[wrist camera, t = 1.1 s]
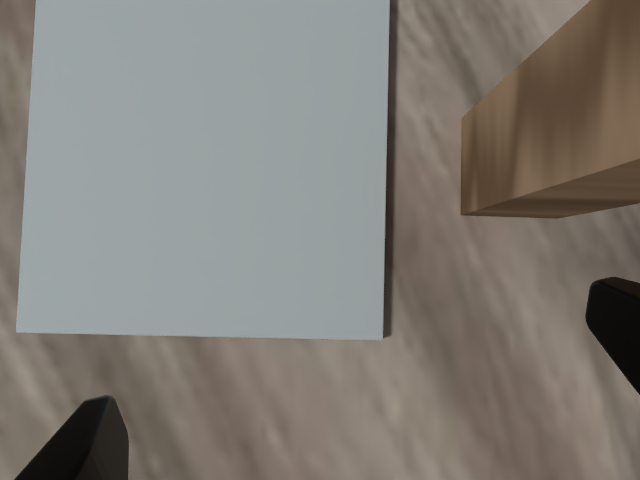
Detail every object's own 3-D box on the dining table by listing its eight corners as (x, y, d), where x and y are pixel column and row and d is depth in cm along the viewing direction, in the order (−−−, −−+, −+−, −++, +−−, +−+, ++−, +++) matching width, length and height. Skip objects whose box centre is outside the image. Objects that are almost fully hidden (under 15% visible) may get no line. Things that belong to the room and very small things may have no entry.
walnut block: (557, 218, 23) (859, 161, 11) (460, 215, 23) (653, 154, 10) (557, 121, 23) (853, -44, 11) (461, 117, 23) (651, -55, 11)
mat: (381, 338, 22) (382, 340, 22) (21, 331, 22) (16, 332, 21) (388, -3, 23) (389, -8, 23) (42, -20, 23) (37, -26, 22)
